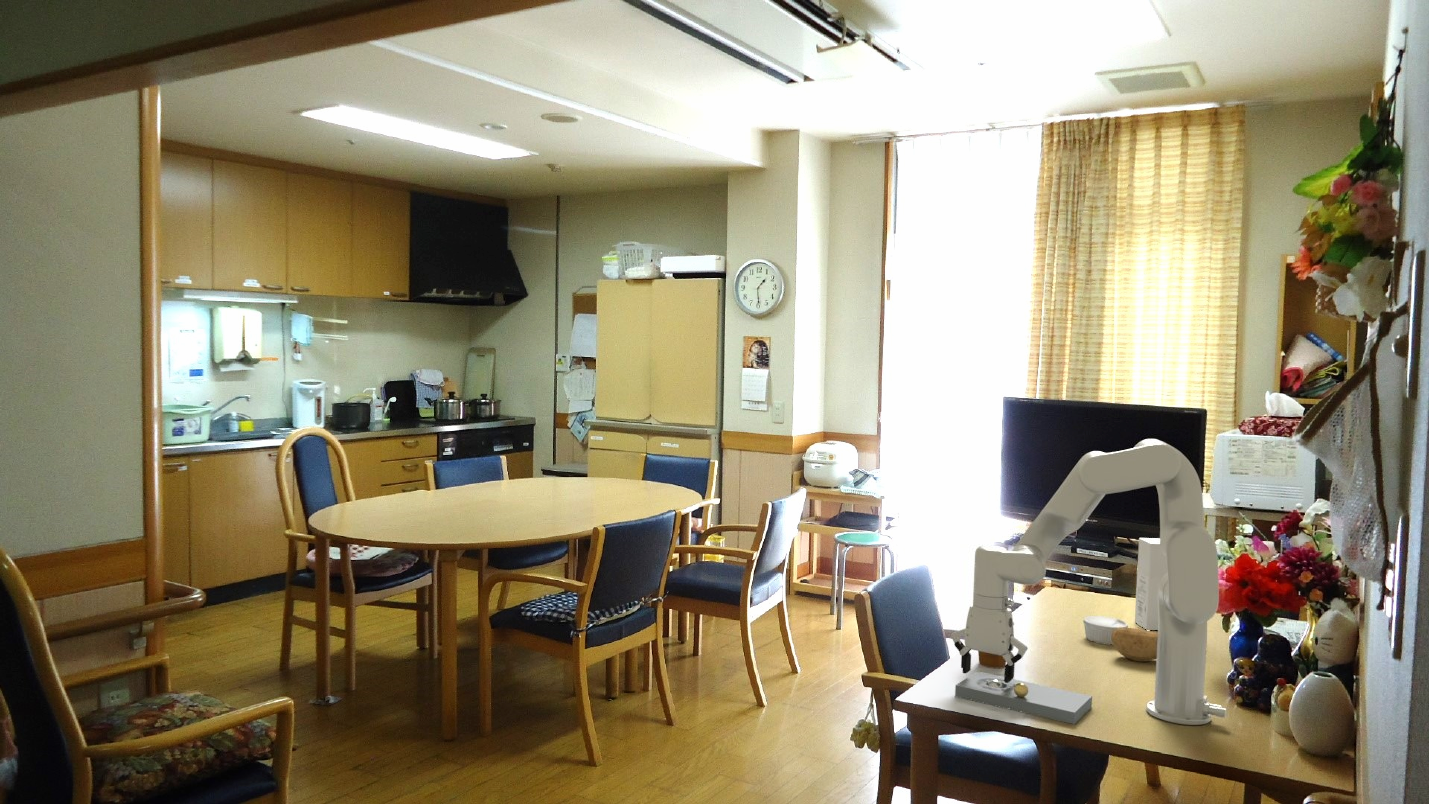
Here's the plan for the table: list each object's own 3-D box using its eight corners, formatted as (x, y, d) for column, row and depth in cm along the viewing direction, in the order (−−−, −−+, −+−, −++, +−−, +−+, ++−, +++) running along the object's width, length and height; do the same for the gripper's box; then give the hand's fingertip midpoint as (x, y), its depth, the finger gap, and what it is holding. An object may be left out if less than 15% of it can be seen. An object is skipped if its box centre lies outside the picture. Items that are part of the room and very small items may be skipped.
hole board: (1091, 707, 217) (1092, 696, 217) (1074, 724, 206) (1074, 712, 206) (976, 681, 232) (977, 671, 232) (955, 696, 221) (955, 685, 221)
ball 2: (1029, 696, 215) (1030, 683, 215) (1025, 700, 213) (1025, 686, 212) (1016, 693, 217) (1016, 680, 217) (1011, 697, 214) (1012, 683, 214)
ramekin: (1133, 647, 265) (1134, 627, 264) (1091, 645, 265) (1092, 626, 264) (1117, 635, 276) (1118, 616, 276) (1076, 634, 276) (1077, 615, 276)
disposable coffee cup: (974, 656, 252) (976, 609, 251) (1013, 661, 248) (1015, 614, 248) (970, 667, 243) (972, 618, 242) (1010, 672, 239) (1012, 623, 239)
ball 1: (1001, 677, 224) (988, 683, 226) (994, 677, 221) (981, 683, 223) (1008, 692, 222) (994, 698, 224) (1001, 692, 220) (988, 698, 221)
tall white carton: (1177, 632, 280) (1182, 544, 279) (1146, 630, 281) (1150, 543, 280) (1165, 623, 289) (1169, 538, 288) (1134, 622, 290) (1138, 537, 288)
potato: (1171, 669, 246) (1173, 637, 245) (1110, 661, 251) (1111, 630, 250) (1169, 658, 255) (1170, 628, 254) (1110, 651, 260) (1111, 621, 259)
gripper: (1034, 605, 221) (1030, 680, 222) (959, 592, 231) (956, 664, 232) (1022, 611, 215) (1019, 689, 215) (947, 598, 225) (944, 672, 226)
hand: (987, 676), depth 224 cm, fingers open, 9 cm apart
